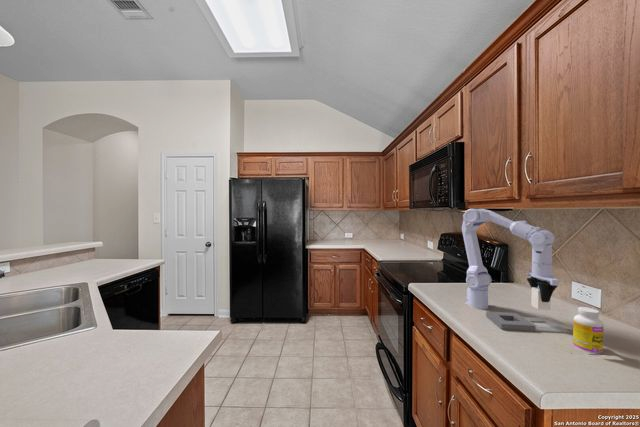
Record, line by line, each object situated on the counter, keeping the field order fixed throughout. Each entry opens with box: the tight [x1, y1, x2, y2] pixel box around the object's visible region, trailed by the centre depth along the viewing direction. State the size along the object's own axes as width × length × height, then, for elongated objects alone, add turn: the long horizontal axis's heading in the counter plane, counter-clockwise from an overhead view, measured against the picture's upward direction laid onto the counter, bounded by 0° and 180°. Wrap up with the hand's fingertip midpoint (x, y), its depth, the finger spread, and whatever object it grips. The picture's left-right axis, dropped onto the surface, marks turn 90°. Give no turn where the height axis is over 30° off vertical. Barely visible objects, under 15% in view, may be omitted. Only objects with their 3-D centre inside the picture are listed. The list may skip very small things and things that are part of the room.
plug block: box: [530, 286, 551, 311], centre depth 101 cm, size 4×4×8 cm
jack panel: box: [485, 310, 571, 334], centre depth 102 cm, size 12×22×3 cm, turn 82°
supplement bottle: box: [572, 306, 604, 356], centre depth 85 cm, size 7×7×13 cm
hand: (541, 299), depth 101 cm, fingers closed on plug block, 4 cm apart
